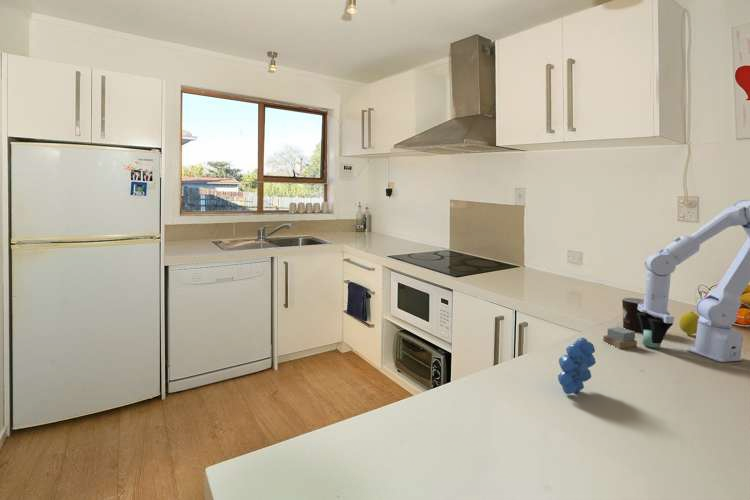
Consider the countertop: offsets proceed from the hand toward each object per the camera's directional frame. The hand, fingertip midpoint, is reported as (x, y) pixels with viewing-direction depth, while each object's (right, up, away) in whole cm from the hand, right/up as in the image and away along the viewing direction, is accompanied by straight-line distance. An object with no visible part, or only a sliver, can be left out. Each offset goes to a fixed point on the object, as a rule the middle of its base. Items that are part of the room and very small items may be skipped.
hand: (651, 340), depth 118 cm
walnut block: (-9, -2, +1) cm, 9 cm away
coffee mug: (+7, 0, +18) cm, 20 cm away
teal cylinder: (0, -1, 0) cm, 1 cm away
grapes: (-38, -5, -29) cm, 48 cm away
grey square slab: (-8, 0, +1) cm, 9 cm away
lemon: (+21, -1, +12) cm, 24 cm away
